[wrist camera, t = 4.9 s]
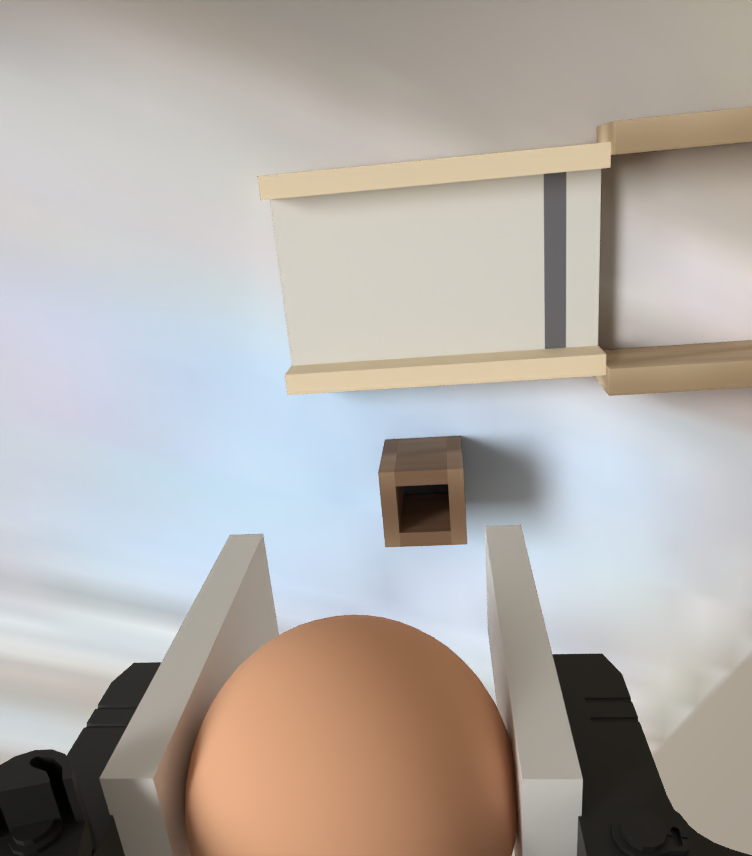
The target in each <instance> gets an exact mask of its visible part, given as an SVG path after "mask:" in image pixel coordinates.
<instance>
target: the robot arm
mask: <svg viewBox="0 0 752 856" xmlns="http://www.w3.org/2000/svg"><path fill="white" fill-rule="evenodd" d="M485 541H486V577H487V614H488V635H489V644H490V652H491V660H492V668H493V677H494V685H495V693H496V702H497V709H498V711H499V713H500V715H501V717H502V720H503V722H504V724H505V727H506V729H507V732H508V735H509V738H510V742H511V748H512V753H513V762H514V772H515V783H516V796H517V818H518V821H517V834H516V840H515V844H514V851H515V856H752V855H749V854H745V853H741V852H738V851H735V850H732V849H729V848H726V847H724V846H721V845H719V844H716V843H714V842H712V841H710V840H709V839H707V838H705V837H704V836H702V835H700V834H698V833H697V832H696V831H695V830H694V829H692V828H691V827H690V826H689V825H688V824H687V822H686V821H685V820H684V819H683V818H682V816H681V815H680V814H679V813H678V812H676V811H675V810H674V809H673V807H672V805H671V803H670V801H669V799H668V797H667V795H666V792H665V789H664V786H663V784H662V781H661V779H660V776H659V773H658V770H657V768H656V765H655V762H654V760H653V757H652V754H651V751H650V749H649V746H648V743H647V741H646V738H645V735H644V733H643V730H642V727H641V724H640V722H638V716H637V714H636V711H635V708H634V706H633V703H632V702H631V697H630V695H629V692H628V689H627V687H626V684H625V681H624V679H623V676H622V674H621V673H620V672H619V671H618V670H617V668H616V667H615V666H614V665H613V664H612V663H611V662H610V661H609V660H608V659H607V658H606V657H605V656H604V655H603V654H552V651H551V647H550V643H549V639H548V635H547V631H546V627H545V623H544V618H543V614H542V610H541V606H540V602H539V598H538V594H537V590H536V586H535V582H534V578H533V574H532V569H531V565H530V561H529V557H528V553H527V549H526V545H525V541H524V537H523V533H522V529H521V525H509V526H485ZM277 636H279V632H278V626H277V620H276V613H275V607H274V601H273V594H272V588H271V582H270V575H269V569H268V562H267V556H266V550H265V543H264V537H263V534H244V535H230V536H229V538H228V540H227V541H226V543H225V545H224V547H223V549H222V551H221V553H220V554H219V556H218V558H217V560H216V562H215V564H214V566H213V568H212V569H211V571H210V573H209V575H208V577H207V579H206V581H205V582H204V584H203V586H202V588H201V590H200V592H199V594H198V595H197V597H196V599H195V601H194V603H193V605H192V607H191V609H190V610H189V612H188V614H187V616H186V618H185V620H184V622H183V623H182V625H181V627H180V629H179V631H178V633H177V635H176V637H175V638H174V640H173V642H172V644H171V646H170V648H169V650H168V651H167V653H166V655H165V657H164V659H163V661H162V662H158V663H133V664H132V665H131V666H130V667H129V668H128V669H126V670H125V671H124V672H123V673H122V674H121V675H120V676H118V677H117V678H116V679H115V680H114V681H113V682H112V683H111V684H110V686H109V688H108V689H107V691H106V692H105V694H104V696H103V697H102V699H101V701H100V702H99V704H98V709H95V710H94V712H93V714H92V715H91V717H90V719H89V720H88V722H87V727H86V728H83V730H82V732H81V733H80V735H79V737H78V738H77V740H76V741H75V743H74V745H73V746H72V748H71V750H70V751H69V753H68V755H67V756H66V755H65V754H63V753H60V752H58V751H55V750H34V751H31V752H28V753H25V754H22V755H18V756H15V757H14V758H12V759H10V760H8V761H7V762H5V763H3V764H1V765H0V856H190V850H189V844H188V837H187V831H186V825H185V788H186V781H187V775H188V769H189V764H190V759H191V754H192V750H193V747H194V744H195V741H196V738H197V735H198V732H199V730H200V727H201V725H202V722H203V720H204V718H205V716H206V714H207V712H208V710H209V708H210V706H211V704H212V703H213V701H214V699H215V698H216V696H217V694H218V693H219V691H220V690H221V688H222V687H223V686H224V684H225V683H226V682H227V680H228V679H229V678H230V676H231V675H232V674H233V673H234V672H235V671H236V669H237V668H238V667H239V666H240V665H241V664H242V663H243V662H244V661H245V660H247V659H248V658H249V657H250V656H251V655H252V654H253V653H254V652H256V651H257V650H258V649H259V648H260V647H261V646H263V645H265V644H266V643H268V642H269V641H271V640H272V639H274V638H275V637H277Z"/></svg>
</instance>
